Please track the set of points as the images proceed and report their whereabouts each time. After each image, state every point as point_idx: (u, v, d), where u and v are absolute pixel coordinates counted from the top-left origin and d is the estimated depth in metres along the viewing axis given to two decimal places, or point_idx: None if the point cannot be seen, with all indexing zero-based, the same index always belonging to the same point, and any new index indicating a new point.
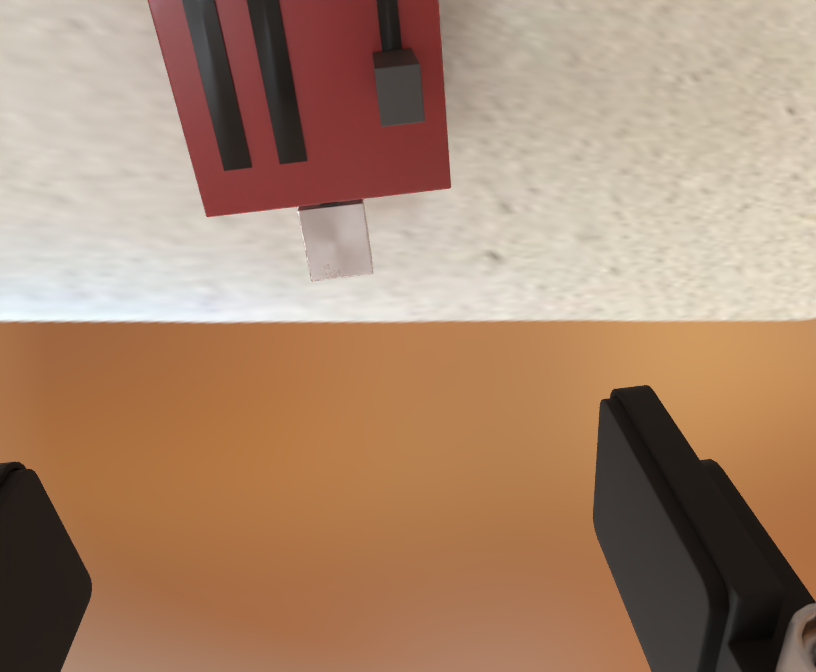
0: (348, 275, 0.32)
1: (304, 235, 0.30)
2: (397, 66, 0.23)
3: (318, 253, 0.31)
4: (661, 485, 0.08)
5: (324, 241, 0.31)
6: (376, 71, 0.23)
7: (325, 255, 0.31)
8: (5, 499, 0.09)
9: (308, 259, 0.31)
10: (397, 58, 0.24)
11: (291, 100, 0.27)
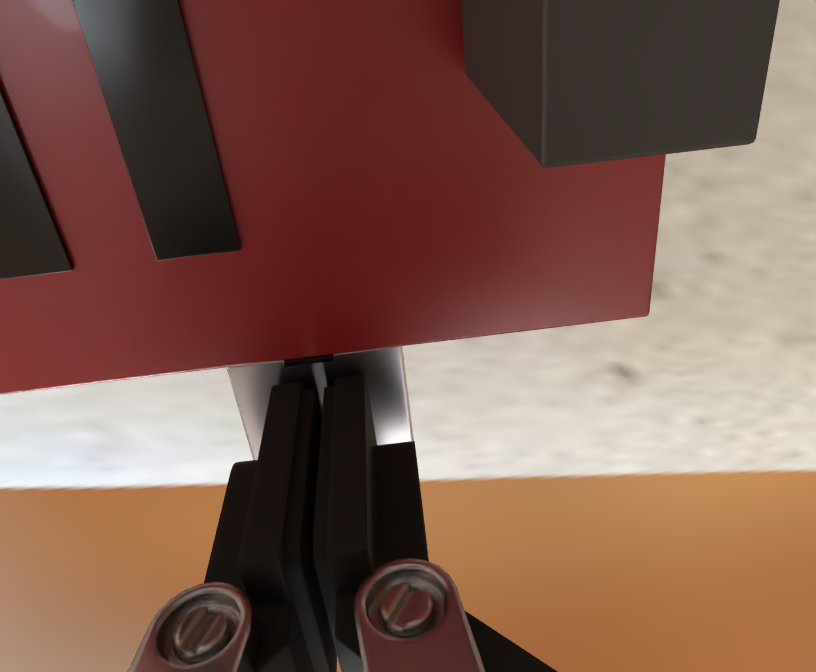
0: None
1: (247, 422, 0.12)
2: None
3: None
4: (325, 461, 0.09)
5: None
6: None
7: None
8: (311, 411, 0.11)
9: None
10: None
11: (177, 61, 0.08)
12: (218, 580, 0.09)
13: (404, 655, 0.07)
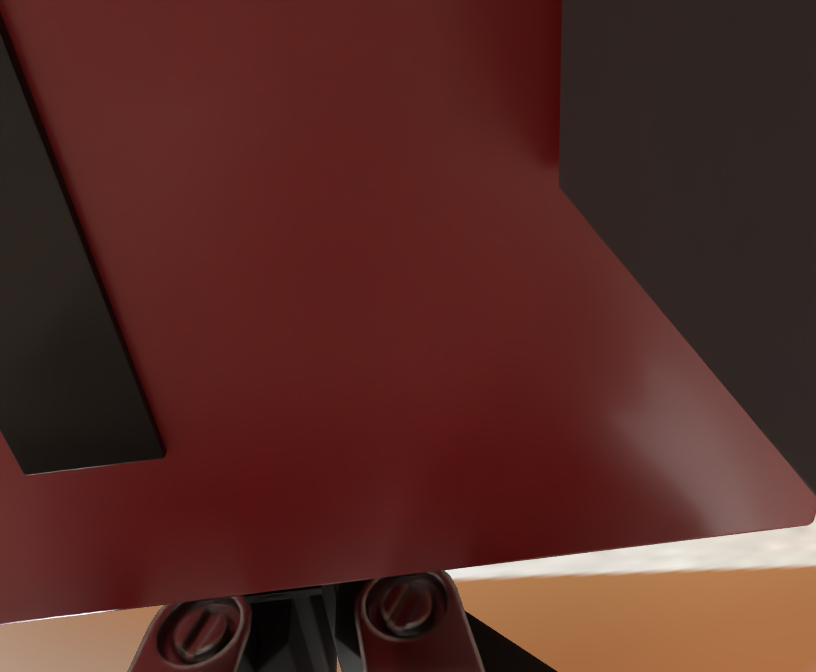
0: None
1: None
2: None
3: None
4: None
5: None
6: None
7: None
8: None
9: None
10: None
11: (24, 166, 0.04)
12: None
13: (404, 655, 0.07)
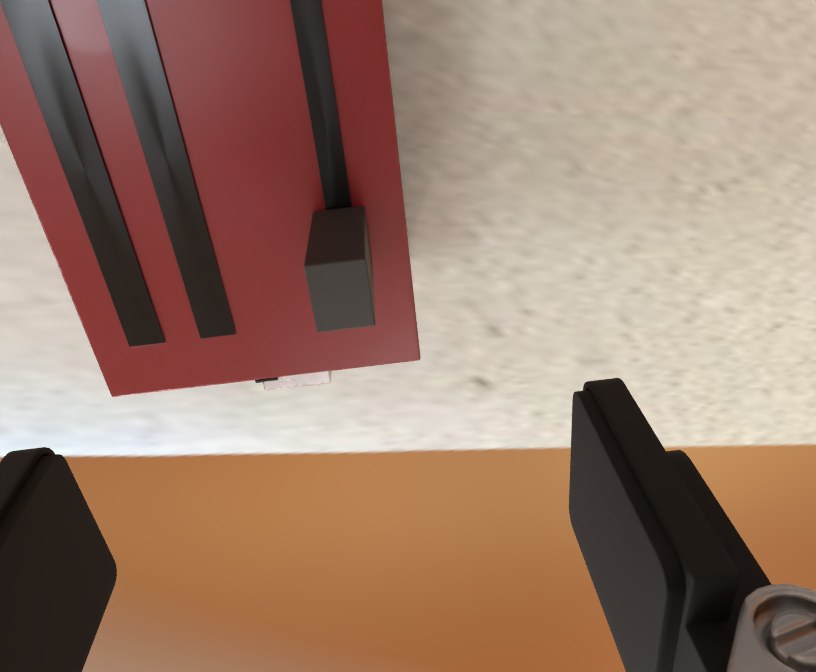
0: (304, 384, 0.30)
1: None
2: (335, 262, 0.17)
3: None
4: (626, 474, 0.09)
5: None
6: (306, 269, 0.17)
7: None
8: (37, 483, 0.10)
9: None
10: (339, 236, 0.18)
11: (211, 265, 0.21)
12: None
13: None
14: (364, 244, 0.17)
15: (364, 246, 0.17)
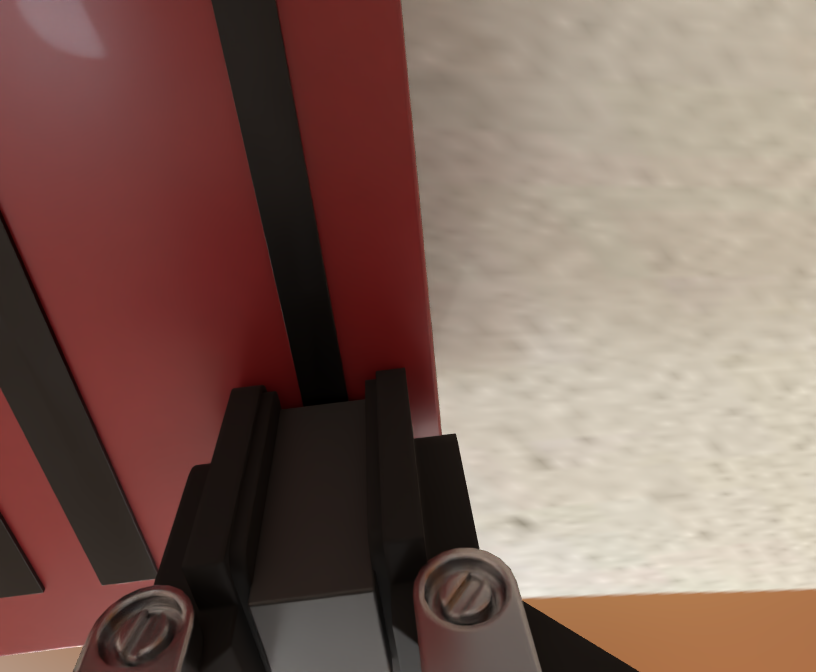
0: None
1: None
2: (311, 598, 0.08)
3: None
4: (373, 453, 0.09)
5: None
6: (253, 610, 0.08)
7: None
8: (269, 413, 0.11)
9: None
10: (324, 499, 0.09)
11: (109, 486, 0.12)
12: (168, 583, 0.09)
13: (460, 642, 0.07)
14: None
15: None
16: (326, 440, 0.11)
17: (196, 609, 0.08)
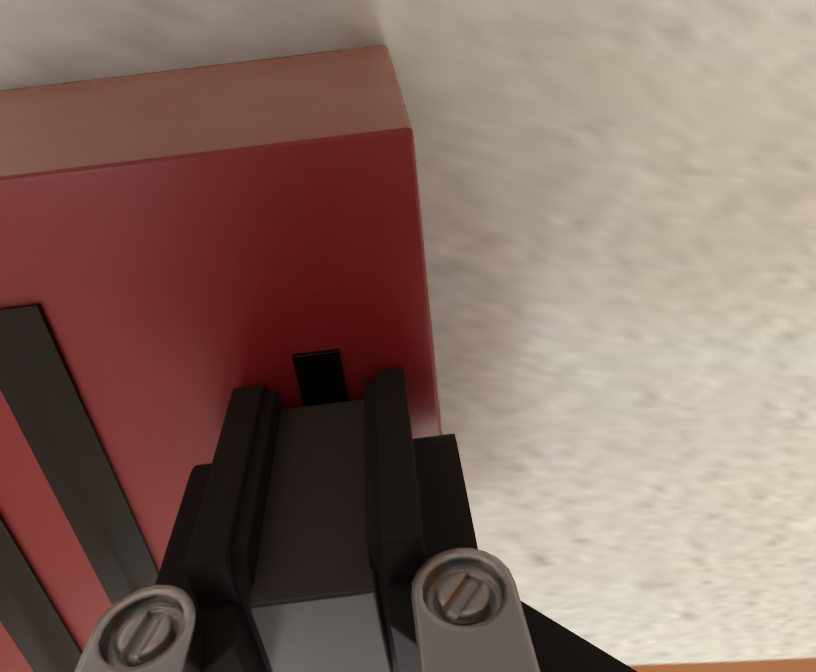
0: None
1: None
2: (312, 598, 0.08)
3: None
4: (371, 453, 0.09)
5: None
6: (253, 611, 0.08)
7: None
8: (270, 413, 0.11)
9: None
10: (324, 499, 0.09)
11: None
12: (169, 583, 0.09)
13: (458, 642, 0.07)
14: None
15: None
16: (326, 440, 0.11)
17: (197, 609, 0.08)
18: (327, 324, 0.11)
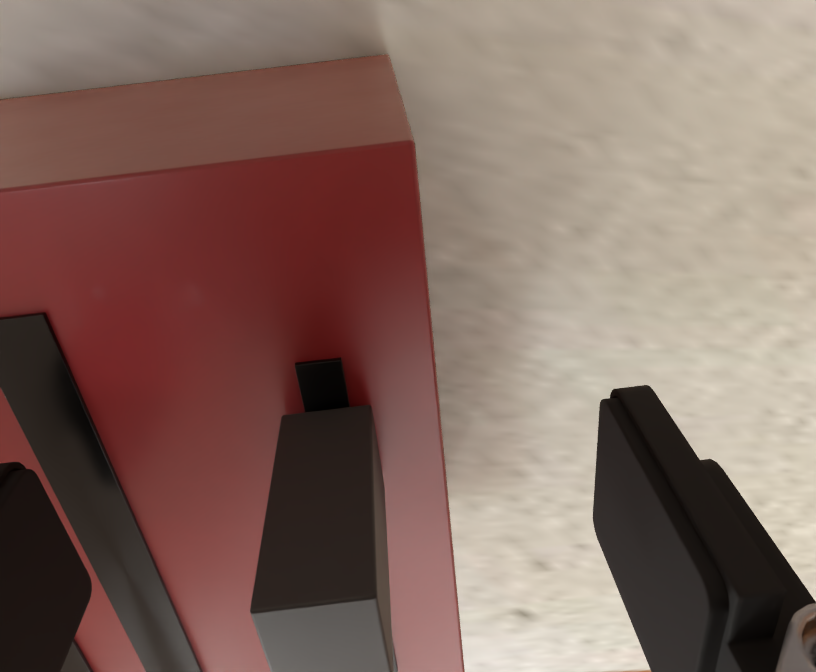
0: None
1: None
2: (313, 604, 0.08)
3: None
4: (661, 485, 0.08)
5: None
6: (255, 617, 0.08)
7: None
8: (5, 499, 0.09)
9: None
10: (325, 505, 0.10)
11: (191, 667, 0.15)
12: None
13: None
14: (373, 538, 0.09)
15: (373, 547, 0.09)
16: (327, 446, 0.11)
17: None
18: (329, 333, 0.11)
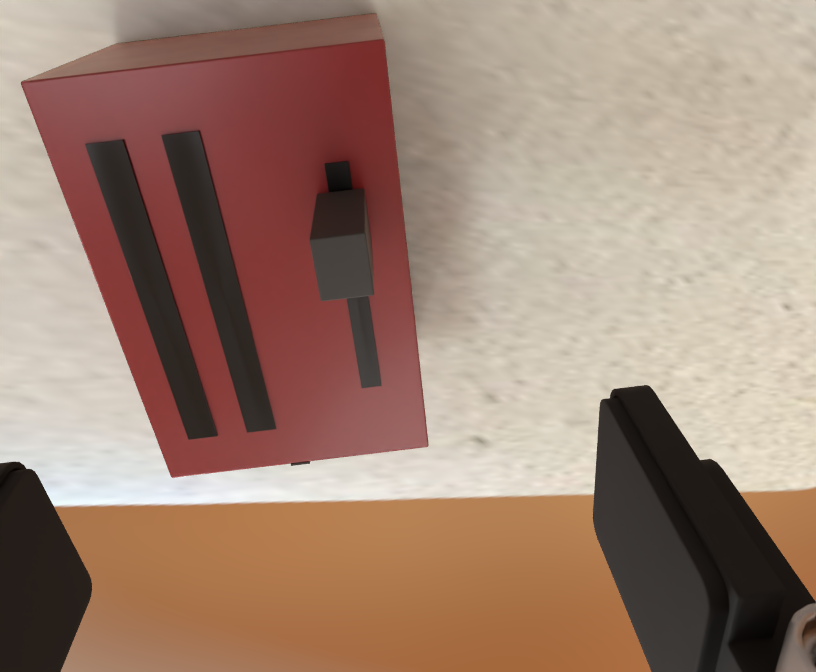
0: None
1: None
2: (337, 236, 0.18)
3: None
4: (661, 485, 0.08)
5: None
6: (311, 242, 0.18)
7: None
8: (5, 499, 0.09)
9: None
10: (341, 215, 0.20)
11: (257, 377, 0.26)
12: None
13: None
14: (364, 221, 0.19)
15: (364, 222, 0.19)
16: (341, 200, 0.21)
17: None
18: (342, 146, 0.21)
